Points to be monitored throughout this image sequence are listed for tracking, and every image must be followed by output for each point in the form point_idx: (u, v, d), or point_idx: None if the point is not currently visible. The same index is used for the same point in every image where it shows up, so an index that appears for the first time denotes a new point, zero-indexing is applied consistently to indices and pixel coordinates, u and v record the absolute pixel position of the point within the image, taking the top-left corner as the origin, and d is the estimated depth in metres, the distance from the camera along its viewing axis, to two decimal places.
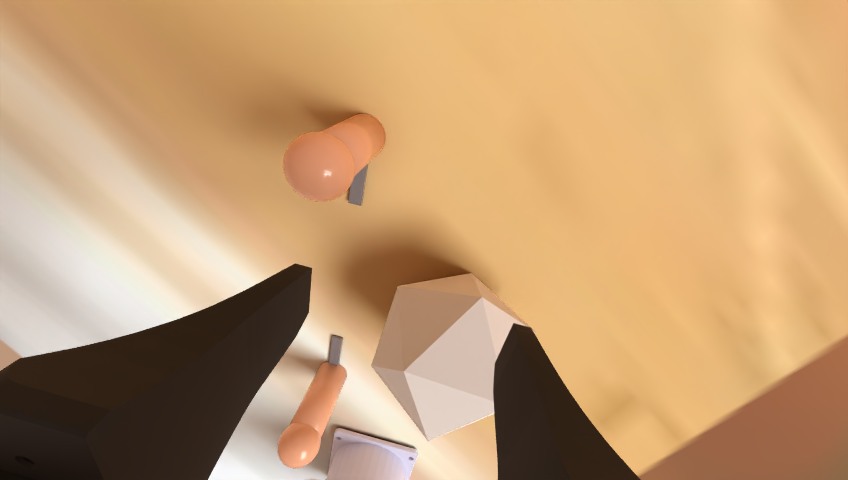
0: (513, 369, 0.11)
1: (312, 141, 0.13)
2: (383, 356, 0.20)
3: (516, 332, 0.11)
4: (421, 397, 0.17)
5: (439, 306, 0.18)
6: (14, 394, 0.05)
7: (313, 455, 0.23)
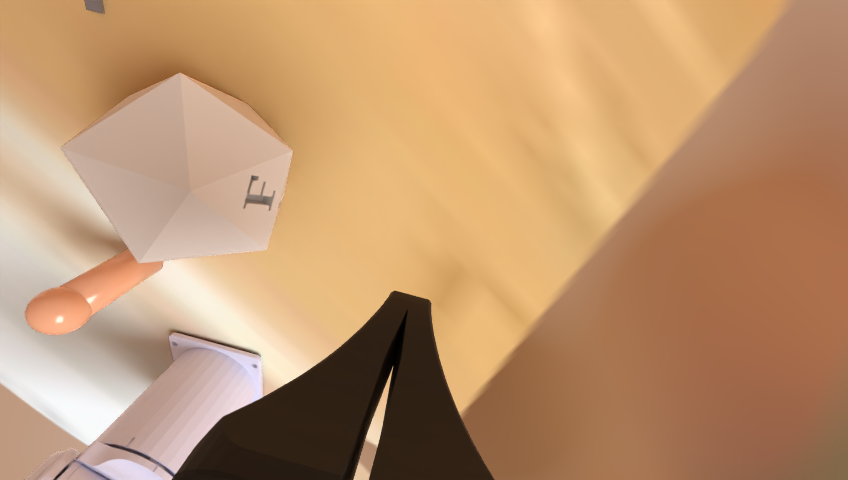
0: (401, 338, 0.11)
1: None
2: None
3: (409, 303, 0.11)
4: (98, 190, 0.14)
5: (141, 93, 0.15)
6: (247, 461, 0.05)
7: (69, 319, 0.20)
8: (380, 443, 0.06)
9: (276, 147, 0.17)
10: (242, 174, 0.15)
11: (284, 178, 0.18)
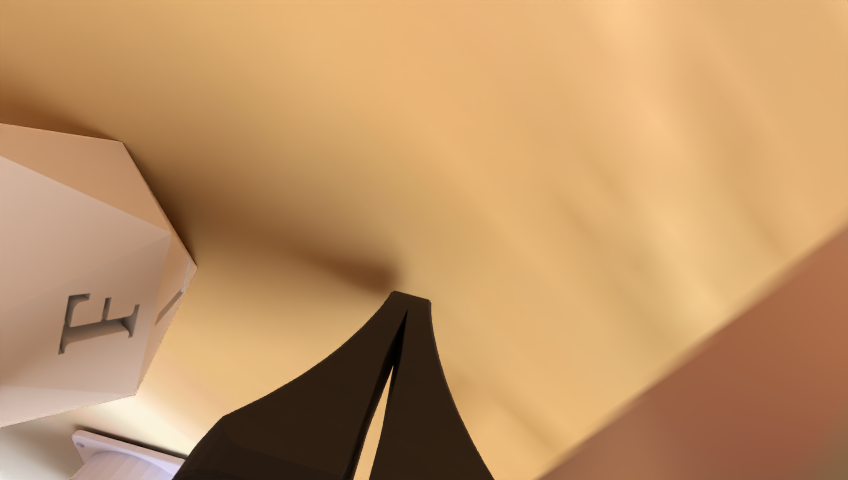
0: (401, 338, 0.11)
1: None
2: None
3: (409, 303, 0.11)
4: None
5: None
6: (248, 461, 0.05)
7: None
8: (380, 443, 0.06)
9: (133, 232, 0.09)
10: (41, 301, 0.08)
11: (158, 280, 0.10)
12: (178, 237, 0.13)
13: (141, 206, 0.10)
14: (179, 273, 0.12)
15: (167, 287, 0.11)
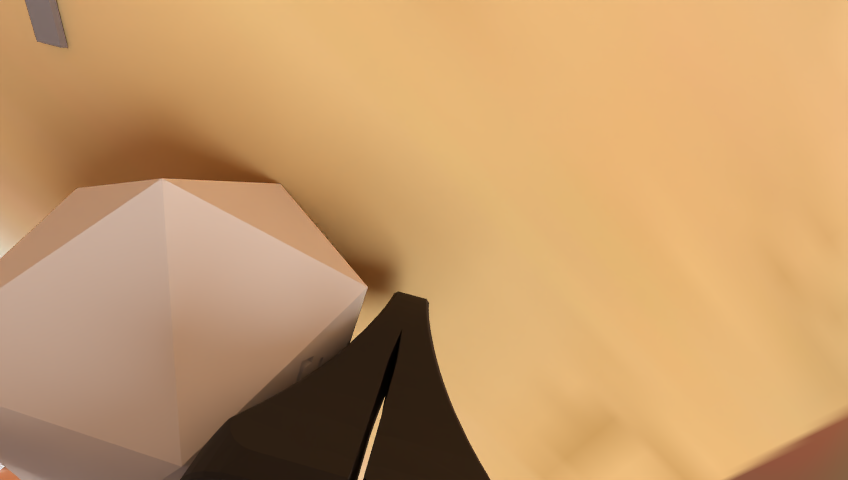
0: None
1: None
2: None
3: (407, 302, 0.11)
4: None
5: (87, 209, 0.08)
6: (255, 463, 0.05)
7: None
8: (375, 442, 0.06)
9: (342, 290, 0.09)
10: (286, 370, 0.08)
11: (351, 333, 0.10)
12: None
13: (336, 259, 0.10)
14: None
15: None
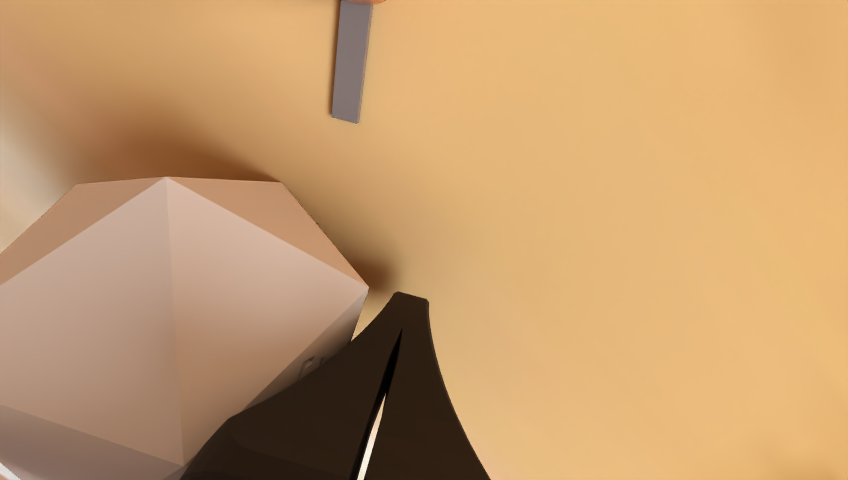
0: None
1: None
2: None
3: (407, 302, 0.11)
4: None
5: (88, 207, 0.08)
6: (254, 463, 0.05)
7: None
8: (375, 442, 0.06)
9: (344, 290, 0.09)
10: (288, 370, 0.08)
11: (351, 333, 0.10)
12: None
13: (337, 259, 0.10)
14: None
15: None
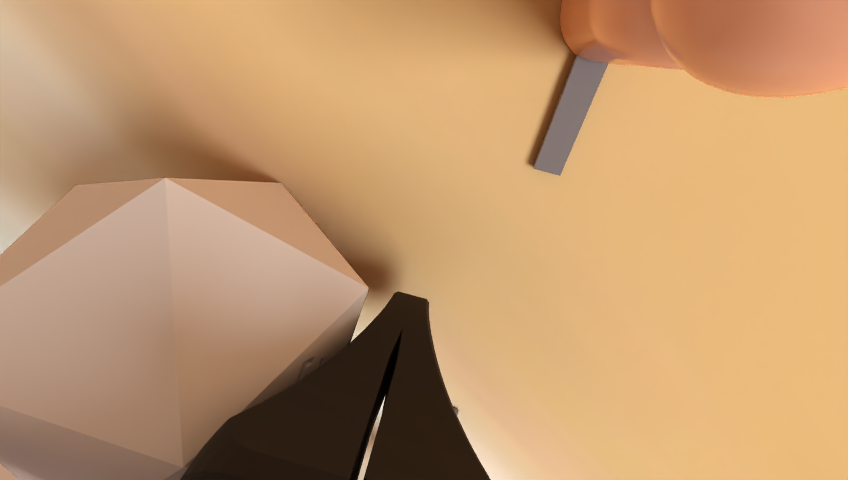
0: None
1: None
2: None
3: (407, 302, 0.11)
4: None
5: (88, 207, 0.08)
6: (255, 463, 0.05)
7: None
8: (375, 442, 0.06)
9: (343, 291, 0.09)
10: (288, 371, 0.08)
11: (351, 334, 0.10)
12: None
13: (337, 259, 0.10)
14: None
15: None
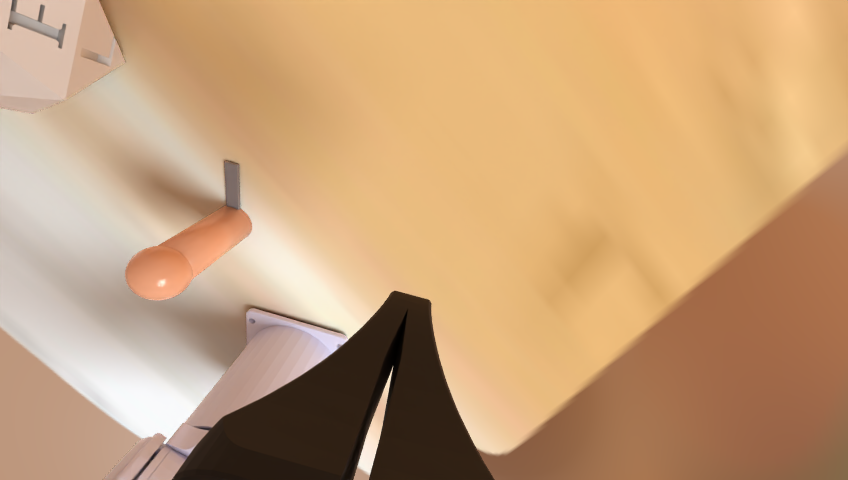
0: (401, 338, 0.11)
1: None
2: None
3: (409, 303, 0.11)
4: None
5: None
6: (248, 461, 0.05)
7: (174, 282, 0.17)
8: (380, 443, 0.06)
9: None
10: None
11: (80, 12, 0.15)
12: None
13: None
14: (103, 36, 0.17)
15: (90, 31, 0.16)
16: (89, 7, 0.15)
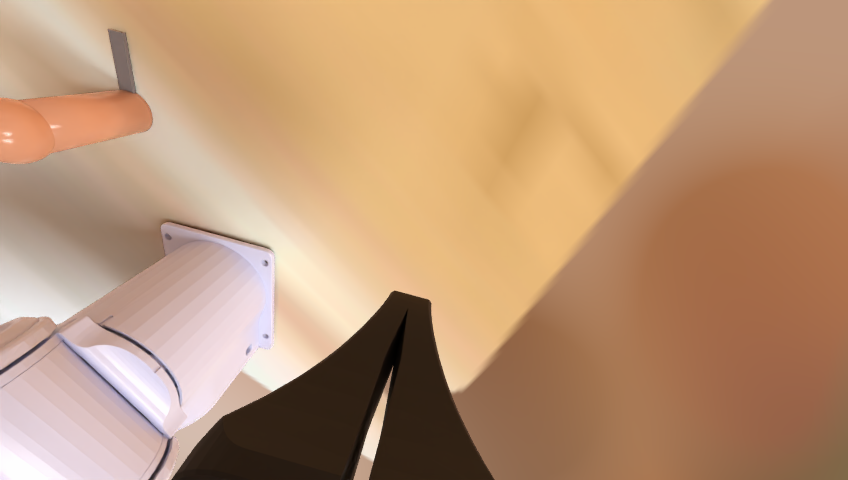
0: (401, 338, 0.11)
1: None
2: None
3: (409, 303, 0.11)
4: None
5: None
6: (248, 461, 0.05)
7: (20, 136, 0.15)
8: (380, 443, 0.06)
9: None
10: None
11: None
12: None
13: None
14: None
15: None
16: None
